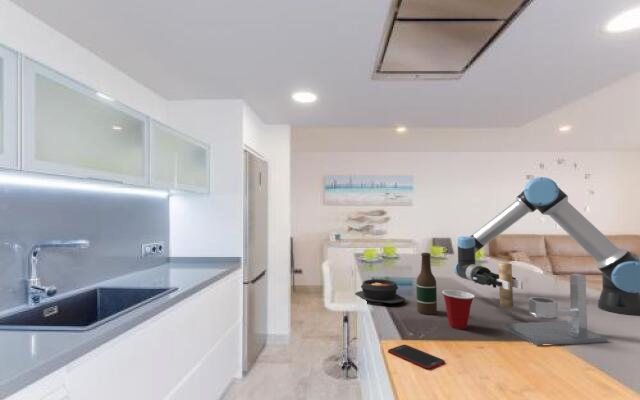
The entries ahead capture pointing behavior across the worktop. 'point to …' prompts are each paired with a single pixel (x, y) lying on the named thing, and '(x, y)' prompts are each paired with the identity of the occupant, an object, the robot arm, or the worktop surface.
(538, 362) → the worktop surface
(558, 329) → the cup bracket
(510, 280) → the brown wooden cylinder
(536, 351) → the worktop surface
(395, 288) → the casserole
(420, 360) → the cell phone
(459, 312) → the plastic cup
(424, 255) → the beer bottle
